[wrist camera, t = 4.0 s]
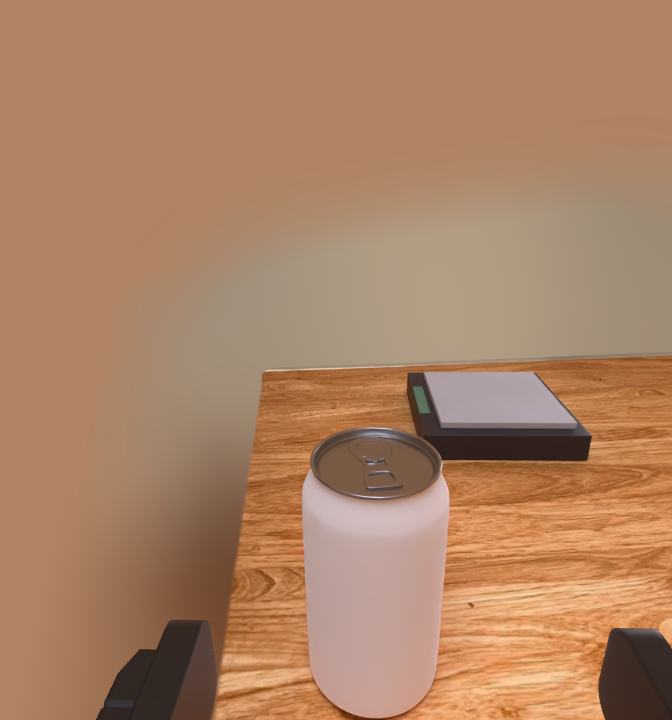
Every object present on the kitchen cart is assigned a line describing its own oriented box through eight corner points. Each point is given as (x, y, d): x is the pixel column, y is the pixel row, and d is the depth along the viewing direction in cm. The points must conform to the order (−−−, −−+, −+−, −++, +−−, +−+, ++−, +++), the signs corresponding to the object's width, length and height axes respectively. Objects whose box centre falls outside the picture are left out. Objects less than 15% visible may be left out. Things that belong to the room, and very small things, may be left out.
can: (416, 603, 29) (426, 417, 25) (454, 715, 23) (477, 496, 19) (304, 615, 28) (295, 427, 24) (314, 735, 22) (305, 512, 18)
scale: (422, 459, 44) (424, 428, 42) (406, 392, 57) (407, 367, 56) (587, 460, 43) (593, 429, 42) (533, 392, 56) (536, 367, 55)
